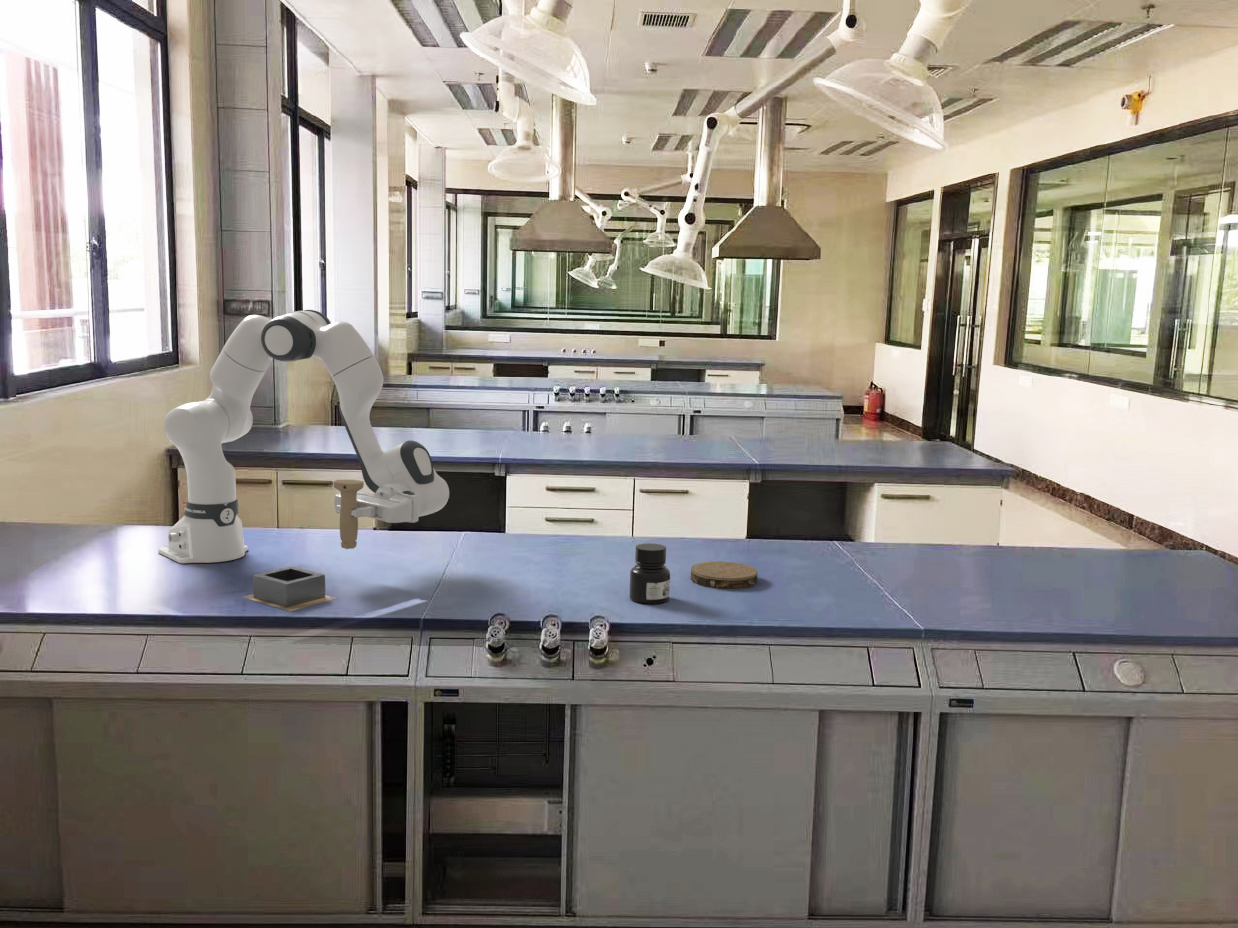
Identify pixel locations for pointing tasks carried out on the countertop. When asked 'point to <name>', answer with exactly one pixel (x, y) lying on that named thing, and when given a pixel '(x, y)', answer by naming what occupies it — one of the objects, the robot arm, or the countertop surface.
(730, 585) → the brown round disc
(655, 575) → the ink bottle
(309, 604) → the base board
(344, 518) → the handle
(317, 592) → the square frame
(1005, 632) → the countertop surface
